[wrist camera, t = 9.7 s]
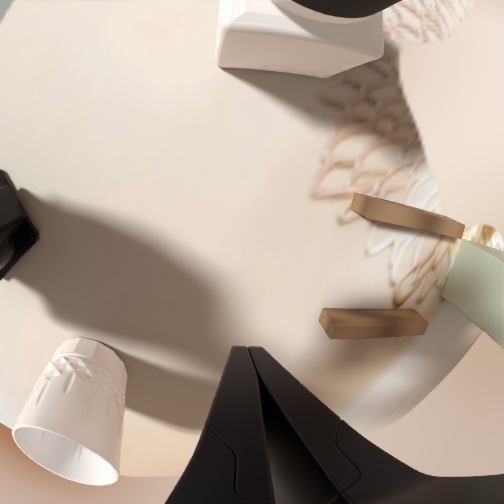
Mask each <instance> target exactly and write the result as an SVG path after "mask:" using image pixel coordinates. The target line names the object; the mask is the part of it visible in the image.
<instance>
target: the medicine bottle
mask: <svg viewBox="0 0 504 504" xmlns="http://www.w3.org/2000/svg"><path fill="white" fill-rule="evenodd" d="M399 1H401V0H220V8H219V18H218V29H217V41H216V54H215V64H216V65H217V66H218V67H228V68H245V69H258V70H268V71H278V72H286V73H293V74H300V75H307V76H313V77H319V78H327V77H330V76H332V75H335V74H337V73H340V72H343V71H345V70H348V69H351V68H353V67H356V66H359V65H362V64H364V63H367V62H370V61H373V60H376V59H379V58H381V57H382V56H383V54H384V34H383V15H382V10H384V9H386V8H388V7H390V6H391V5H393V4H395V3H397V2H399Z"/></svg>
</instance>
